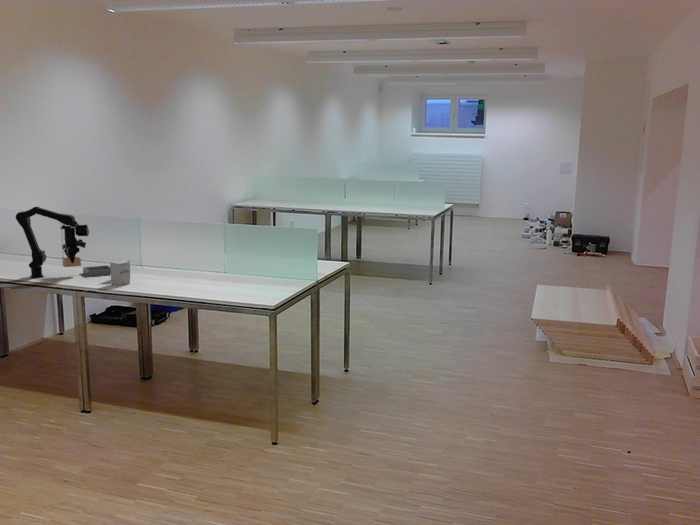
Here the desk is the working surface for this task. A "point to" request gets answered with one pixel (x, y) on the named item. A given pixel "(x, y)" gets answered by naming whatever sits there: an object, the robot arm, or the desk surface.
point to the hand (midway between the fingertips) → (71, 262)
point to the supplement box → (120, 273)
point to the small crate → (71, 262)
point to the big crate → (97, 271)
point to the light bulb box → (122, 260)
